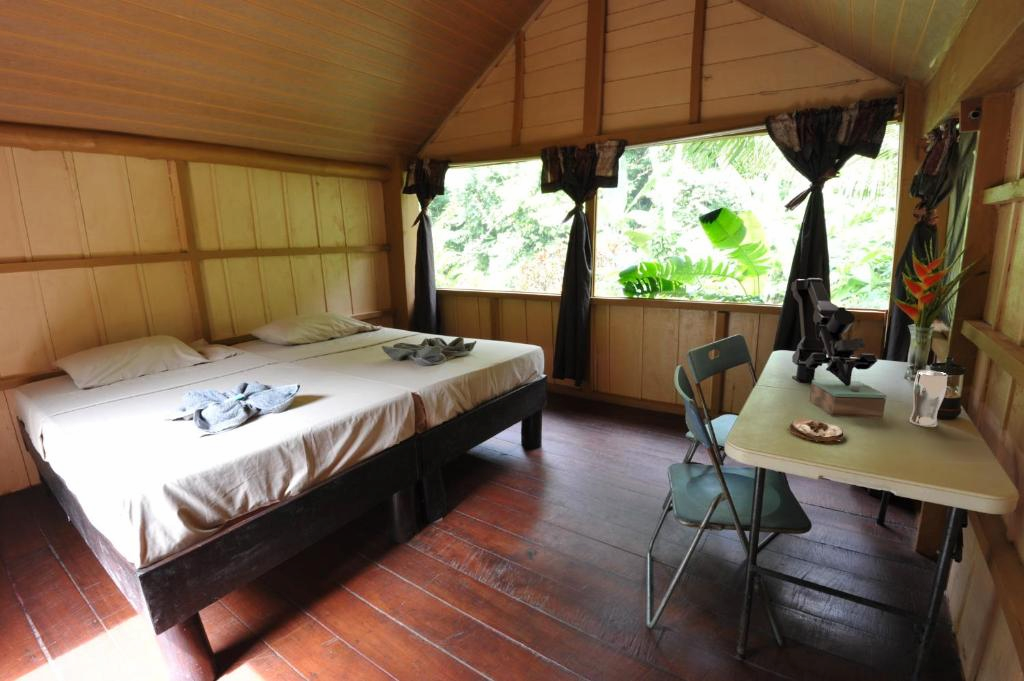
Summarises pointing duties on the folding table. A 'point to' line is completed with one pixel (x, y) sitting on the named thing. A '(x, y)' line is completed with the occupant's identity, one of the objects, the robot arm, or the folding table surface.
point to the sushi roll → (816, 430)
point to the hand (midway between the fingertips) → (848, 385)
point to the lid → (848, 389)
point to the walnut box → (847, 404)
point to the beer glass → (927, 397)
